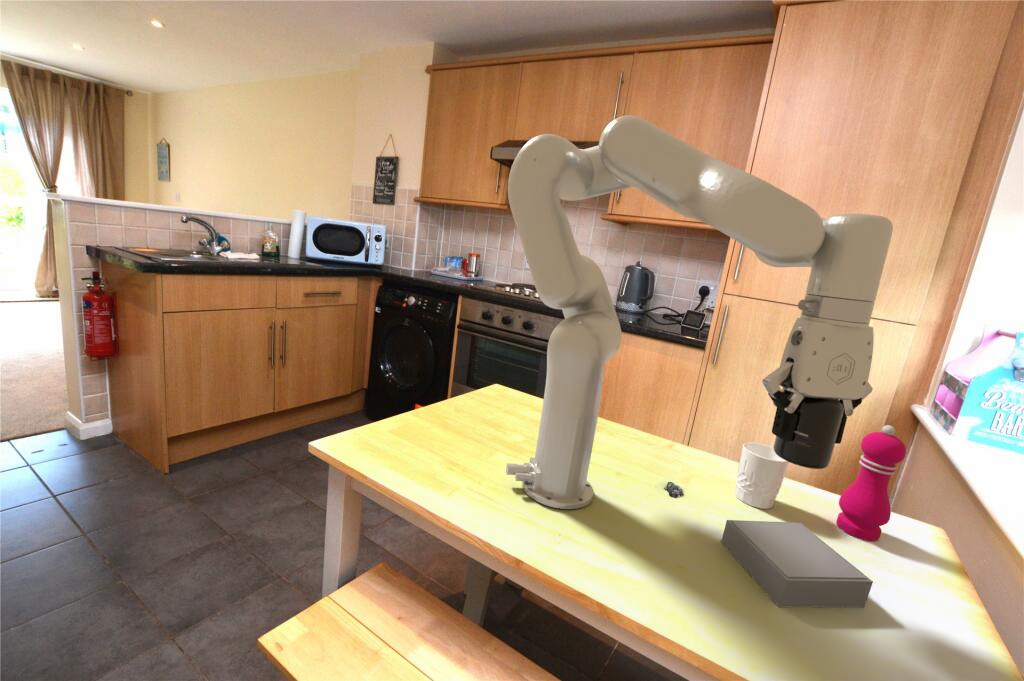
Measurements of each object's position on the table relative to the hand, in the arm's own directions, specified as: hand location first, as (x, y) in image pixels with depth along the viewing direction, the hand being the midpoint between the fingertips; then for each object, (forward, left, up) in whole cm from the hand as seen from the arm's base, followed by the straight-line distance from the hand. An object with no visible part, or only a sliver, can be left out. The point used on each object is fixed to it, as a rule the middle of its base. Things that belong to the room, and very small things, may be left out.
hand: (805, 437), depth 64 cm
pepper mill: (+25, +10, -21) cm, 34 cm away
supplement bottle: (0, 0, -3) cm, 3 cm away
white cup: (+11, +19, -21) cm, 30 cm away
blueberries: (-5, +21, -21) cm, 30 cm away
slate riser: (+2, -1, -21) cm, 21 cm away
